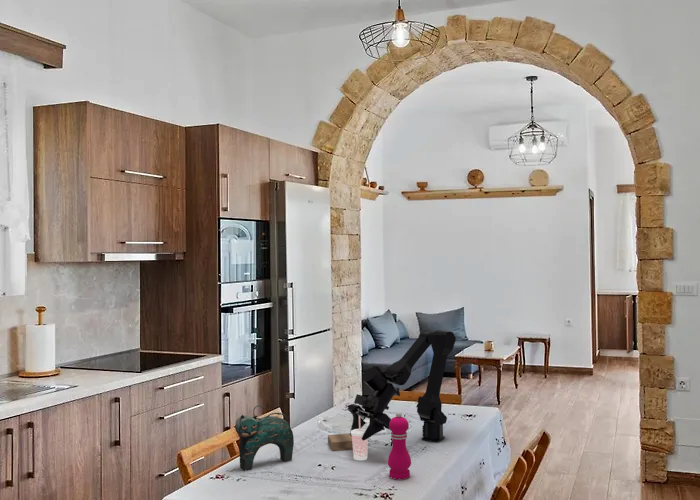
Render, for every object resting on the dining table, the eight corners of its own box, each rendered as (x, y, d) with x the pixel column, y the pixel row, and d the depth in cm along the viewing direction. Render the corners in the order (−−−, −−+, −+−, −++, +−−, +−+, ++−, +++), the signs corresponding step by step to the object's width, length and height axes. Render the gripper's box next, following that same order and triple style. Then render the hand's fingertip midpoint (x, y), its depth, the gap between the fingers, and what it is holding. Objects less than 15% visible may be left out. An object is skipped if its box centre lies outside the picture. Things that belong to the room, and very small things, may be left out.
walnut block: (352, 441, 260) (352, 433, 260) (357, 449, 252) (357, 440, 251) (327, 443, 259) (327, 435, 259) (332, 451, 250) (332, 442, 250)
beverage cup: (368, 461, 238) (366, 419, 237) (349, 460, 239) (348, 418, 238) (371, 455, 244) (370, 414, 243) (353, 454, 245) (352, 413, 244)
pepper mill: (413, 473, 226) (412, 409, 226) (408, 481, 219) (407, 415, 219) (391, 471, 229) (390, 408, 228) (385, 479, 222) (384, 414, 221)
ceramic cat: (240, 473, 229) (239, 410, 229) (232, 467, 235) (231, 406, 234) (296, 461, 240) (295, 401, 239) (287, 456, 245) (286, 397, 245)
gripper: (351, 380, 250) (325, 418, 244) (385, 389, 235) (359, 430, 229) (369, 399, 255) (345, 436, 249) (404, 409, 240) (379, 449, 234)
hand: (356, 437), depth 240 cm, fingers closed on beverage cup, 6 cm apart
